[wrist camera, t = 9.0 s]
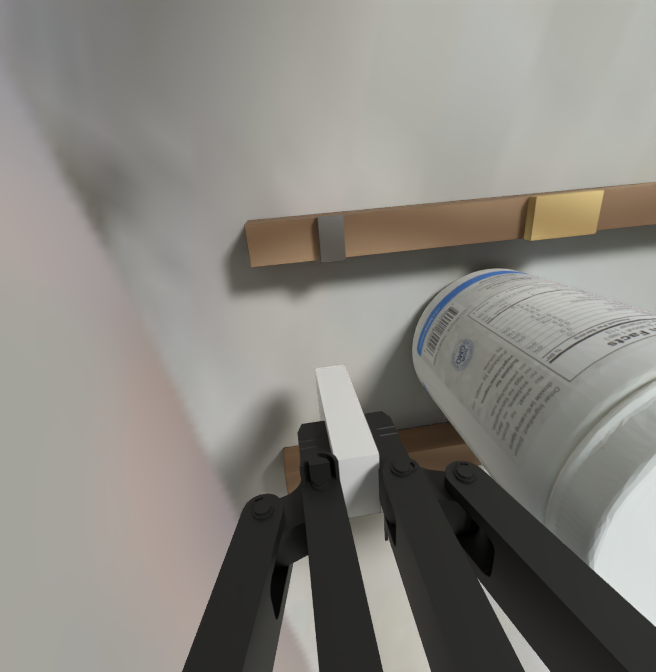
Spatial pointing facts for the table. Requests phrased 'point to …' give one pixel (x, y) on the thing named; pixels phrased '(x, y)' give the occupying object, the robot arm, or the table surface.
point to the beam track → (440, 231)
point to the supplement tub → (555, 410)
